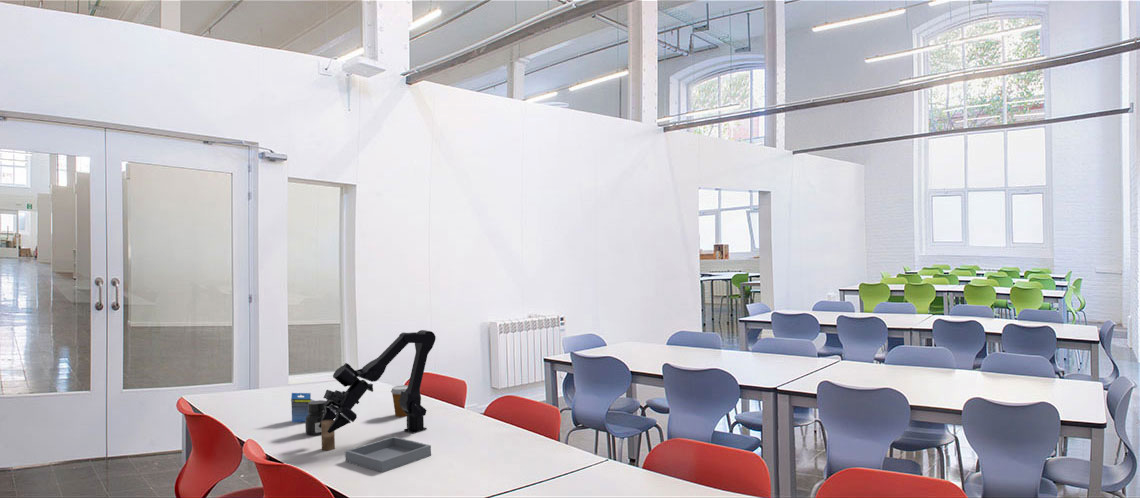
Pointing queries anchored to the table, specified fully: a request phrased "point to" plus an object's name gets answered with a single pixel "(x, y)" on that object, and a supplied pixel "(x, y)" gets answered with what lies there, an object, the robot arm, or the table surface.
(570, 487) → the table surface
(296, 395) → the label tape box
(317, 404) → the ink bottle
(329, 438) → the post
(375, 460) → the tray
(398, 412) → the disposable coffee cup
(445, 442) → the table surface
